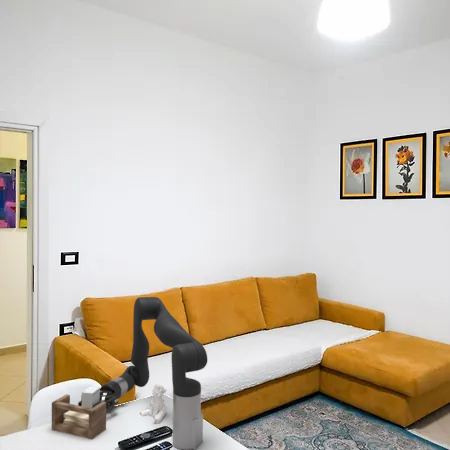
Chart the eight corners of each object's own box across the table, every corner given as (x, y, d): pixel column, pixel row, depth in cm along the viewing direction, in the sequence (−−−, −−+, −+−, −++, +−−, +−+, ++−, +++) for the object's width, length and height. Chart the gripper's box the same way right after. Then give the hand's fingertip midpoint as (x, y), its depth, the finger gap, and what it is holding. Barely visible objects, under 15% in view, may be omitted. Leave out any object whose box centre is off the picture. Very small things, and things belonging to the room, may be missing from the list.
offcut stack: (99, 428, 160) (99, 414, 160) (90, 435, 155) (90, 421, 155) (71, 422, 164) (71, 409, 164) (61, 428, 159) (61, 414, 159)
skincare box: (92, 426, 163) (92, 393, 163) (81, 425, 164) (81, 392, 164) (100, 419, 169) (100, 386, 169) (89, 417, 170) (89, 385, 170)
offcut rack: (106, 432, 159) (106, 402, 159) (92, 442, 152) (92, 411, 152) (66, 423, 166) (66, 394, 165) (51, 432, 159) (51, 402, 158)
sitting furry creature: (138, 417, 171) (138, 385, 170) (154, 409, 178) (154, 378, 177) (157, 424, 165) (157, 391, 165) (173, 415, 173) (173, 384, 172)
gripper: (98, 377, 182) (69, 393, 166) (129, 383, 177) (103, 400, 161) (98, 396, 182) (69, 414, 167) (129, 402, 177) (103, 421, 161)
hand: (86, 407), depth 164 cm, fingers open, 5 cm apart
